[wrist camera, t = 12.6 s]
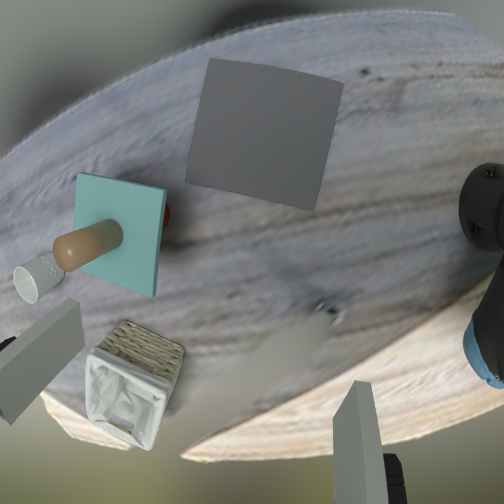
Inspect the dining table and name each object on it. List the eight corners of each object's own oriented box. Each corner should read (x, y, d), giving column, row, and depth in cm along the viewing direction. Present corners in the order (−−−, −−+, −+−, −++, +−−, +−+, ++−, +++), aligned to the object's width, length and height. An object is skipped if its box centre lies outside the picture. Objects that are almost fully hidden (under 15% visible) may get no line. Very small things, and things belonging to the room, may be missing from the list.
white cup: (38, 260, 56) (9, 278, 47) (52, 242, 54) (20, 259, 45) (57, 288, 58) (29, 309, 49) (72, 272, 56) (42, 293, 46)
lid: (167, 189, 34) (117, 202, 25) (155, 294, 39) (114, 332, 29) (82, 172, 36) (27, 181, 26) (78, 265, 40) (32, 290, 31)
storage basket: (122, 310, 57) (83, 352, 43) (194, 344, 57) (169, 397, 43) (112, 380, 65) (85, 420, 52) (171, 409, 65) (150, 454, 52)
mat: (342, 83, 38) (343, 83, 37) (313, 210, 45) (313, 211, 44) (210, 59, 39) (209, 58, 38) (185, 182, 46) (184, 182, 46)
